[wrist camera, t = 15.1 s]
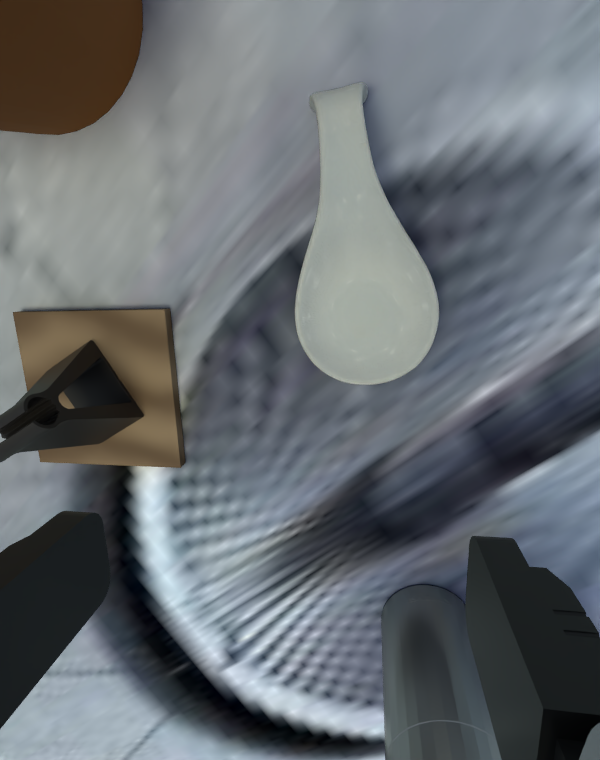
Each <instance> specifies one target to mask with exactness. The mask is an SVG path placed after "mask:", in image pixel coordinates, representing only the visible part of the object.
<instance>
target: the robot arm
mask: <svg viewBox="0 0 600 760" xmlns="http://www.w3.org/2000/svg"><path fill="white" fill-rule="evenodd" d="M110 579H111V572H110V565H109V558H108V552H107V545H106V539H105V532H104V526H103V521H102V518H101V517H100V515H99V514H97V513H90V512H73V511H63V512H60V513H59V514H57V515H56V516H54V517H53V518H52V519H51V520H49V521H48V522H47V523H45V524H44V525H43V526H42V527H40V528H39V529H38V530H36V531H35V532H34V533H33V534H31V535H30V536H28V537H26V538H24V539H22V540H20V541H18V542H16V543H14V544H12V545H10V546H8V547H7V548H6V549H5V550H3V551H2V552H1V553H0V729H1V727H2V726H3V725H4V724H5V722H6V721H7V720H8V719H9V717H10V716H11V715H12V714H13V713H14V711H15V710H16V709H17V708H18V706H19V705H20V704H21V703H22V701H23V700H24V699H25V698H26V696H27V695H28V694H29V693H30V691H31V690H32V689H33V688H34V687H35V685H36V684H37V683H38V682H39V680H40V679H41V678H42V677H43V675H44V674H45V673H46V672H47V670H48V669H49V668H50V667H51V665H52V664H53V663H54V662H55V660H56V659H57V658H58V657H59V656H60V654H61V653H62V652H63V651H64V649H65V648H66V647H67V646H68V644H69V643H70V642H71V641H72V639H73V638H74V637H75V636H76V634H77V633H78V632H79V631H80V630H81V628H82V627H83V626H84V625H85V623H86V622H87V621H88V620H89V618H90V617H91V616H92V615H93V613H94V612H95V611H96V610H97V608H98V607H99V606H100V605H101V603H102V602H103V600H104V599H105V597H106V594H107V592H108V589H109V585H110ZM381 628H382V666H383V698H384V729H385V760H600V637H599V632H598V631H597V629H596V628H595V626H594V625H593V623H592V621H591V620H590V618H589V617H586V612H585V610H584V609H583V607H582V606H581V604H580V602H579V601H578V599H577V598H576V596H575V595H574V593H573V591H572V590H571V588H570V587H568V586H567V585H566V584H565V583H564V582H562V581H561V580H560V579H559V578H558V577H556V576H555V575H554V574H553V573H552V572H550V571H549V570H548V569H547V568H539V567H529V566H528V564H527V562H526V560H525V558H524V556H523V554H522V553H521V551H520V549H519V547H518V545H517V543H516V542H515V540H514V539H512V538H499V537H482V536H472V537H471V539H470V544H469V557H468V572H467V587H466V602H465V604H464V603H463V602H462V601H461V600H460V599H459V598H458V597H457V596H456V595H454V594H453V593H451V592H449V591H447V590H445V589H442V588H439V587H436V586H430V585H416V586H411V587H407V588H405V589H402V590H400V591H398V592H397V593H395V594H394V595H393V596H392V597H391V598H390V599H389V600H388V601H387V603H386V604H385V606H384V608H383V611H382V615H381Z"/></svg>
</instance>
